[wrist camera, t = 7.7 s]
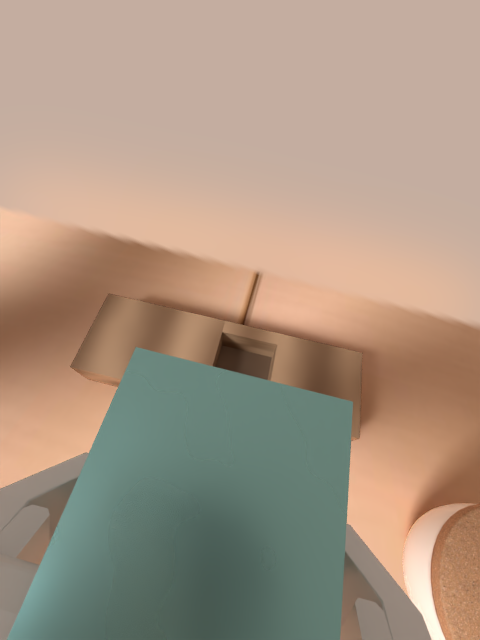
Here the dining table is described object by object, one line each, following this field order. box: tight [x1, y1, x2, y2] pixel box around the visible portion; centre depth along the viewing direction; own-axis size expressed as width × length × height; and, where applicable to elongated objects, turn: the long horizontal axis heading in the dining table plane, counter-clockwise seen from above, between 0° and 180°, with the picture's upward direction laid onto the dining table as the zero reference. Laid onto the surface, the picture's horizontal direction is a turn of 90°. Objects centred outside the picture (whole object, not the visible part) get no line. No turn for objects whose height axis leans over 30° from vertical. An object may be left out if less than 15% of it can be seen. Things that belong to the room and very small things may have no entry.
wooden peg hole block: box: [70, 294, 362, 441], centre depth 29 cm, size 26×8×4 cm, turn 77°
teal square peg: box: [7, 347, 353, 640], centre depth 10 cm, size 4×4×12 cm
